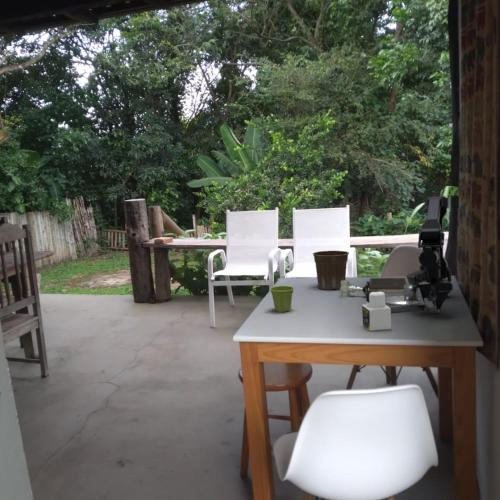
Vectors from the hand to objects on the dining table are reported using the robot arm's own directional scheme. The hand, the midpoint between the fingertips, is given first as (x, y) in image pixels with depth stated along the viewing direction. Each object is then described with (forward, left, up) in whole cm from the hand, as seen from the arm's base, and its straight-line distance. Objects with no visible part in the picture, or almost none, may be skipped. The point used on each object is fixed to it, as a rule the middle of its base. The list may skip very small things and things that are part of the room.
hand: (431, 306), depth 172 cm
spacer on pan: (+3, -10, +1) cm, 10 cm away
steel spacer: (0, 0, -2) cm, 2 cm away
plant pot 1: (+50, -20, -2) cm, 54 cm away
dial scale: (+8, -10, -2) cm, 13 cm away
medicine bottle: (+25, +12, -2) cm, 28 cm away
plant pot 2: (+21, -53, -2) cm, 57 cm away
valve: (+17, -32, -2) cm, 37 cm away
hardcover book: (-2, -45, -3) cm, 45 cm away
